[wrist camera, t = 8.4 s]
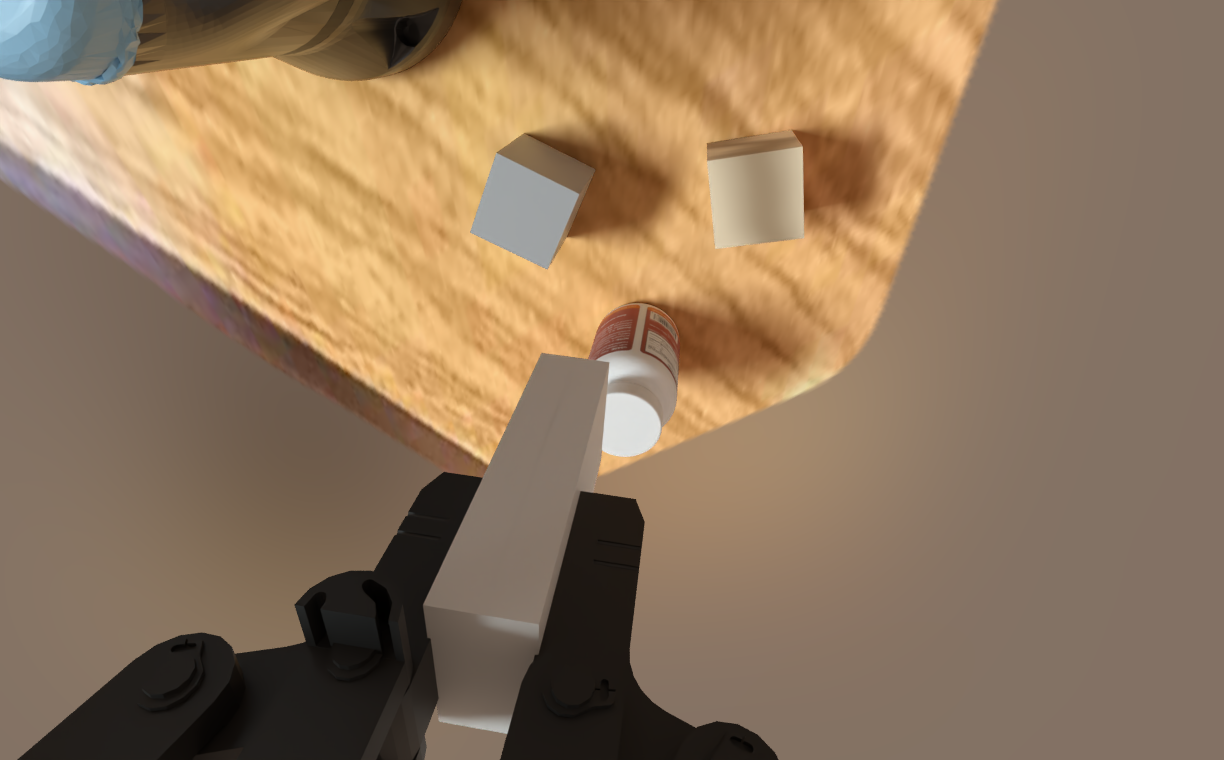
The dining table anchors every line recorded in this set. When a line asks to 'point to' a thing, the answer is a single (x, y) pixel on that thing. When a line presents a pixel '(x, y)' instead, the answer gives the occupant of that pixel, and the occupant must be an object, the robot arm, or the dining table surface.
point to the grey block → (531, 199)
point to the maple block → (756, 189)
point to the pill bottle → (637, 376)
